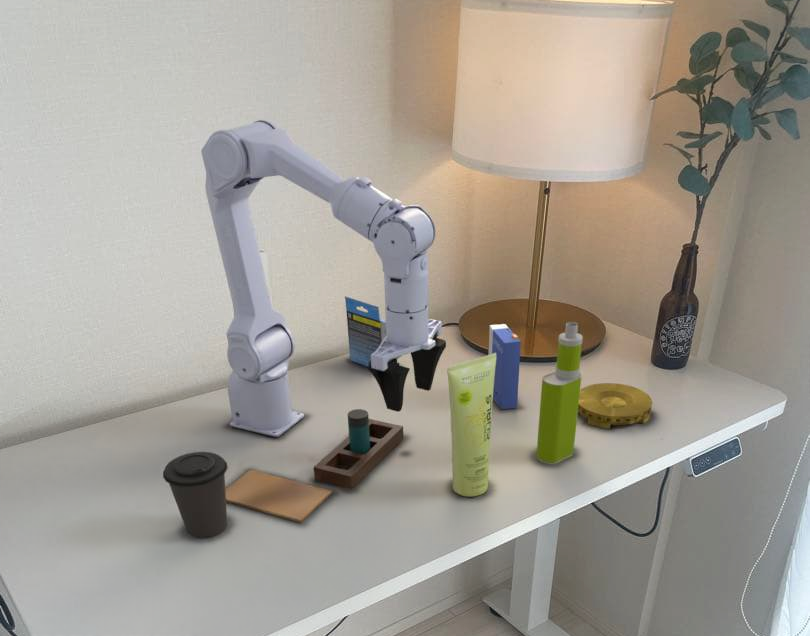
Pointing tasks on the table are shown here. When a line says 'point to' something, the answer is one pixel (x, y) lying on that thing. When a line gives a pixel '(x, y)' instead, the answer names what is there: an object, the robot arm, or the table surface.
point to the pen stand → (358, 456)
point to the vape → (560, 400)
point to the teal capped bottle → (359, 431)
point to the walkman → (505, 365)
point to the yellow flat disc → (614, 404)
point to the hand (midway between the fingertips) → (409, 398)
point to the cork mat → (276, 495)
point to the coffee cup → (199, 492)
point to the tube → (471, 423)
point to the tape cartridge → (363, 330)
